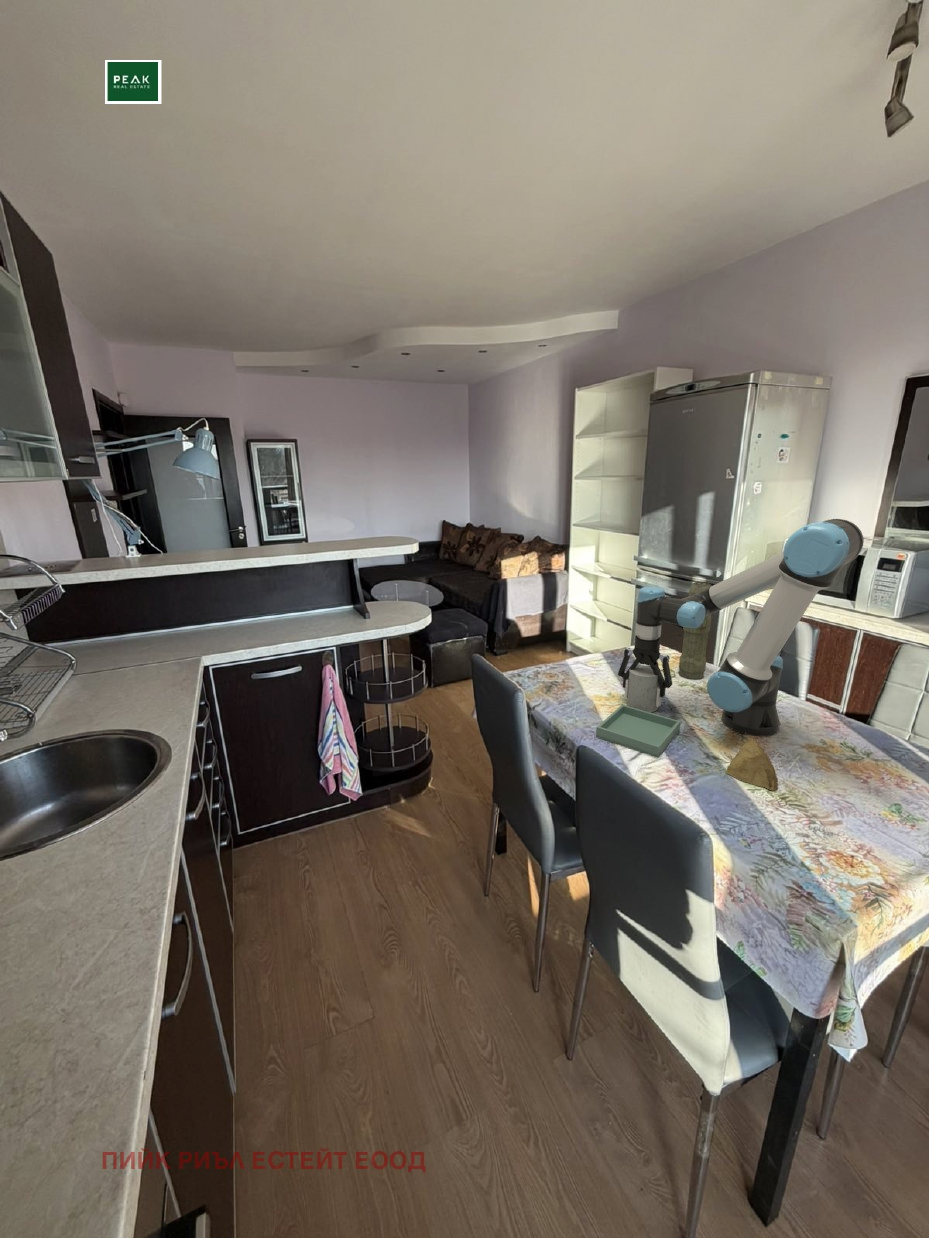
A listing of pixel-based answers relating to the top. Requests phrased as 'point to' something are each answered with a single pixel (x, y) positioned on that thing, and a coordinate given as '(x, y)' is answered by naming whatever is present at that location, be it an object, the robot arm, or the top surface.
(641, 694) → the speckled white canister
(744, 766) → the rock
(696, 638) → the thermos
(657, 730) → the tray
